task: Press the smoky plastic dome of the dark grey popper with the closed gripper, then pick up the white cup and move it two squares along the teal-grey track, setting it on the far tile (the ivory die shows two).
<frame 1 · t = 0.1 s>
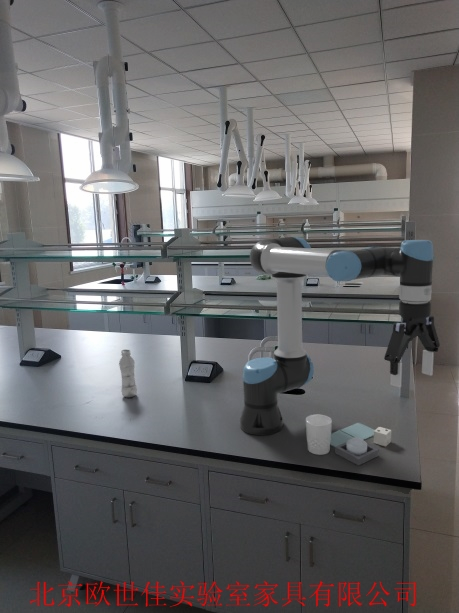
hand: (411, 379, 118), 28 cm above the counter, fingers open, 13 cm apart
dome: (356, 445, 134), point 3 cm above the counter, slide at -0.9 cm
white cup: (318, 450, 139), on the counter
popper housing: (356, 454, 135), on the counter
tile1: (340, 440, 144), on the counter
plastic bottle: (129, 396, 188), on the counter
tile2: (359, 431, 149), on the counter
die: (382, 442, 141), on the counter
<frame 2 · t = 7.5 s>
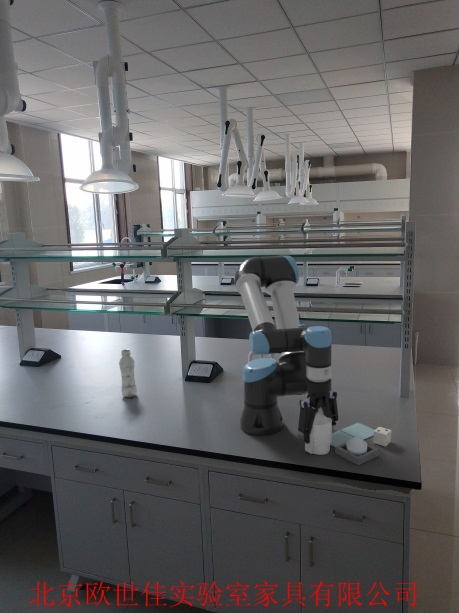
hand: (318, 447, 138), 1 cm above the counter, fingers closed on white cup, 8 cm apart
white cup: (318, 450, 139), on the counter, touching gripper
everything else where it was.
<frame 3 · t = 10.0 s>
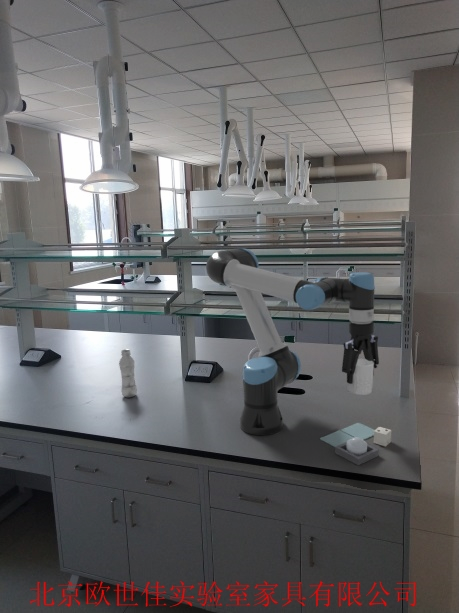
hand: (360, 389, 146), 15 cm above the counter, fingers closed on white cup, 8 cm apart
white cup: (360, 391, 146), point 14 cm above the counter, touching gripper
everything else where it was.
when the fingers open (2 cm above the counter, at t = 12.8 s): white cup drops 1 cm, resting on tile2.
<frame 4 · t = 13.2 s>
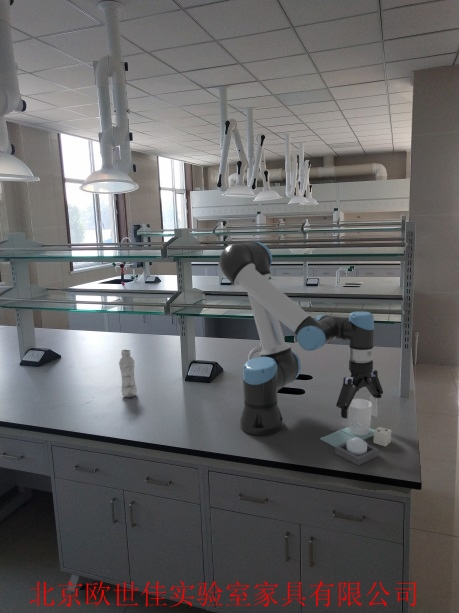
hand: (360, 420, 148), 4 cm above the counter, fingers open, 13 cm apart
white cup: (359, 431, 148), resting on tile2
everything else where it was.
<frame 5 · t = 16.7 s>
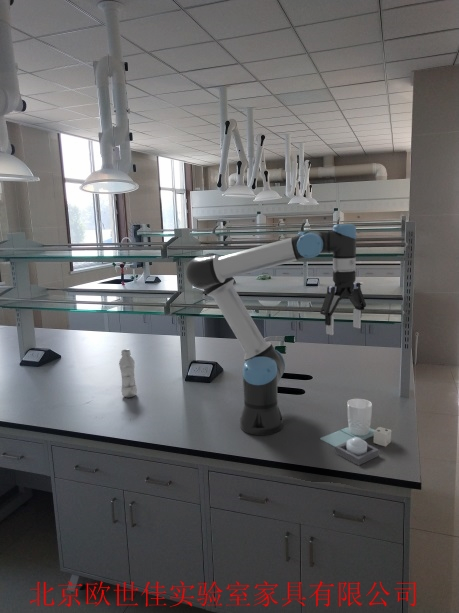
hand: (343, 330, 155), 32 cm above the counter, fingers open, 13 cm apart
nothing on the counter moved.
at the end: white cup inside the target area on the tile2 (0.4 cm from its centre), point 0.1 cm above the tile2's base; white cup tilted 0°; the gripper is holding nothing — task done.
